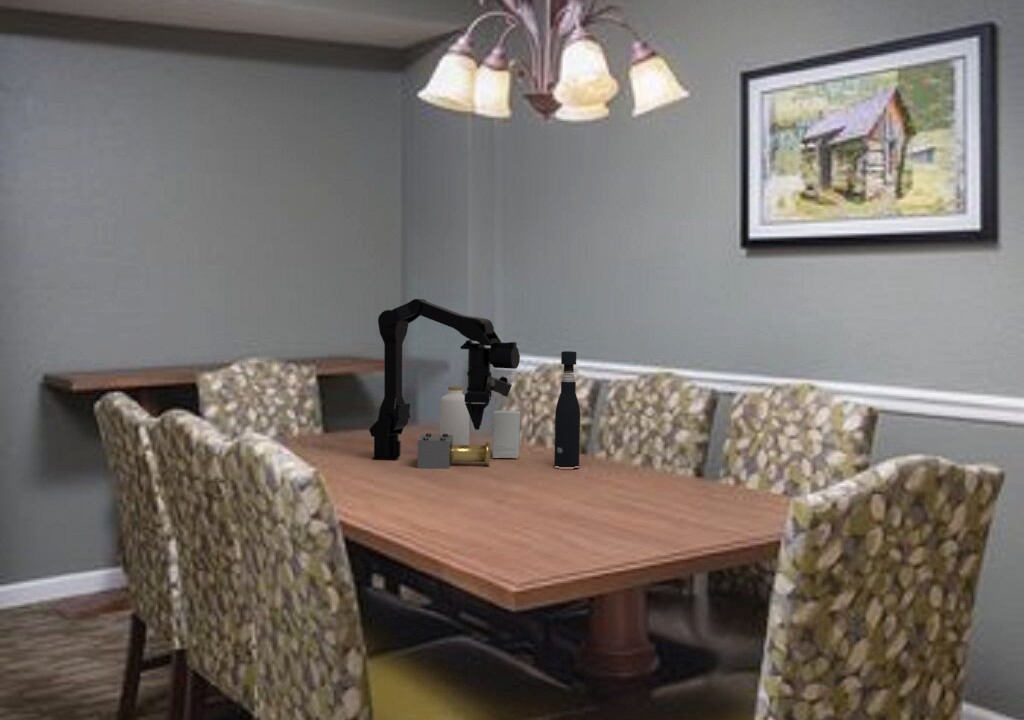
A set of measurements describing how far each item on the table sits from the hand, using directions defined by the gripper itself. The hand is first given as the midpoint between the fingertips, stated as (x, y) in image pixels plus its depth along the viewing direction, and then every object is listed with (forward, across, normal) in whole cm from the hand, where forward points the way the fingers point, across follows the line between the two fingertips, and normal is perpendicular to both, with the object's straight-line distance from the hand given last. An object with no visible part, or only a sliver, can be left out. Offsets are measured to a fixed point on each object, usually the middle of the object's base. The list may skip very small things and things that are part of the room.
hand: (477, 427), depth 292 cm
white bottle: (+10, +29, +8) cm, 32 cm away
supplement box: (+10, +16, -7) cm, 20 cm away
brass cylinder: (+10, 0, +5) cm, 11 cm away
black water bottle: (+10, -1, -23) cm, 25 cm away
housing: (+10, 0, +11) cm, 15 cm away
